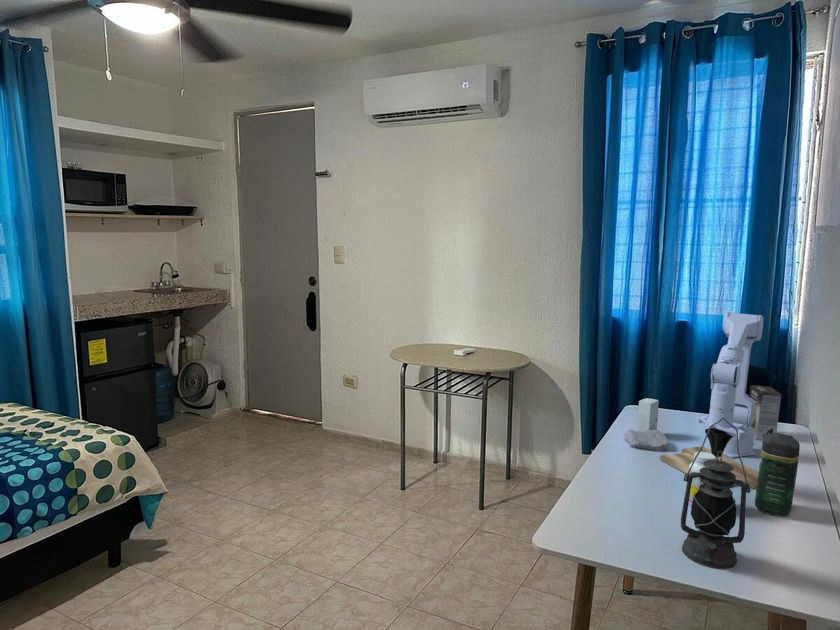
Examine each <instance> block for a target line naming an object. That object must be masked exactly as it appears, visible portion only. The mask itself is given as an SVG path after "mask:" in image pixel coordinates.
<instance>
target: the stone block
mask: <svg viewBox="0 0 840 630" xmlns="http://www.w3.org/2000/svg"><path fill="white" fill-rule="evenodd" d="M624 441H625V442H626V443H627V442H628V445H629V447H630V448H633V447H634V449H640V448H641V450H648V451H654V450H655V451H654V452H656V451H657V452H664V451H669V443H668V439H667V437H666V436H665V434H664V432H662V431H660V430H658V429H657V430H645V431H642V432H638V431H637V430H633V429H628V430H626V432H625V433H624Z"/></svg>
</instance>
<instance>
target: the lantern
mask: <svg viewBox="0 0 840 630" xmlns="http://www.w3.org/2000/svg"><path fill="white" fill-rule="evenodd" d="M722 419H724V420H725V422H726V423H728V424H729V425H730V426H731V427H733V428H734V429H735V430H736V436H737V453H738V456H739V457H738V459H739V461H740V464H742V468H743V473H744V477H745V481H746V484H745V483H744V482H743V481H741V480H737V479H736V476H735V474H733V473H732V472H730V471H733V469H734V468H733V466H732V465H730V464H728V463H726V462H724V461H721V460H722V455H723V454H722V451H718V452H721V460H720V461H719V460H718V452H717V460H707V461H704V463H703V464H704V466H706V467H703V468H701V469H700V470H699V472H700V473H697V472H692V473H690V470H691V468H692V466H693V464H694V462H695V460H696V458H697V456H698V455H699V453H700V452H701V450H702V448H703V446H704V447H705V443H706V441H707V439H708V437H707V436H708V434H709V431H710V429H711V427H712V426H714V425H715V424H717V423H719V422H721V421H722ZM708 429H709V430H708V432H707V434H706V433H705V437H704V439H703V441H702V445H701V446H702V447H701V449H700V450H699V452H698V453H697V455H696V456H695V458H694V461H693V463H692V465H691V467H690V469H689V471H688V473H684V476H683V481H684V482H686V485H685V491H684V497H683V498H684V499H683V504H682V509H681V515H680V516H681V517H680V528H681V531H683V532H685V533H687V537H686V539H684V540H683V542H682V543H683V544H682V546H681V552H682V553H683V555H684V556H685V557H687V559H689V560H690V561H693V562H694V563H696V564H699V565H701V566H704V567H708V568H710V569H711V568H712V569H719V570H726V569H731V568H734V567H735V566H736V565H738V558H737V556H738V555H737V551H735V545H734V544H739V543H740V544H741V543H742V542H743V541H744V539H745V538H744V537H745V534H746V532H745V529H746V512H747V511H746V510H747V509H746V507H747V493H748V494H751V488H752V487H750V485H749V484H748V483H747V478H746V474H745V470H744V466H745V465H744V463H743V461H742V456H741V457H740V454H739V447H738V430H737V429H736V428H735V427H734V426H732V425H731V424H730V423H729V422H727V420H726V419H725V418H721V419H720V421H718V422H716V423H714V424H712V425H711V426H710V427H708ZM743 465H744V466H743ZM689 473H690V474H689ZM696 477H700V481H701V482H702V483H703V484H701V485H700V486H699V488H700V489H699V490H698V492H697V493H695V494H696V495H695V494H694V498H693V502H692V506H691V505H690V504H689V497H690V490H691V484H692V479H693V478H696ZM734 484H738V485H737V486H739V487H740V492H741V493H740V507H739V508H740V509H739V525H738V534H737V536H729V535H730V533H731V530H733V528H734V527H735V526H736V522H737V504H736V499H735V498H733V494H734V493H733V490H732V489H733V488H734V486H735V485H734ZM689 505H690V506H691V509H690V516H691V518H692V520H693V525H694V527H695V529H696V530H695V529H693V528H691V527H689V526H687V524H686V523H687V516H688V509H689Z"/></svg>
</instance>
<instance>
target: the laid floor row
mask: <svg viewBox="0 0 840 630" xmlns="http://www.w3.org/2000/svg"><path fill="white" fill-rule="evenodd" d="M701 447H702V445H700V446H694V447H693V446H692V447H687V448H686V447H685V448H682V451H681V453H689V454H691V455H693V456H694V454H695V453H696V452H699V450H700V449H701ZM701 452H707V453H710V454H712V452H711V448H708V447H706V446H705V445H704V446H703V448H702V450H701ZM715 460H717V457H715ZM718 460H719V461H720V460H721V457H718ZM721 461H724V462H726V463H728V464H730V465H732V466H733V468H734V469H733V471H730V472H732V473H733V474H735V476H736V477H737V478H739V479H741V480H742V481H743V482H744V483H745V484H746V481H745V477H744V473H743V468H742V464H741V462H738V461H736V460H735V459H733V458H731V457H728V456H726V455H724V454H722V460H721ZM743 466H744V470H745V474H746V478H747V483H748V484H749V485H750V487H751V488H752V489H754V488H755V489H757V482H758V474H759V471H757V470H755V469H752V468H751V467H749V466H746V465H744V464H743Z"/></svg>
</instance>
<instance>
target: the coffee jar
mask: <svg viewBox="0 0 840 630" xmlns="http://www.w3.org/2000/svg"><path fill="white" fill-rule="evenodd" d="M799 458H800V442H799V441H798V440H797V439H795V437H794V436H793V435H789V434H784V433H781V432H776V433H773V434H769V435H767V436H766V437H765V438H764V439H763V440H762V445H761V452H760V458H759V459H760V460H759V465H758V467H759V468H758V472H759V474H758V482H757V488H755V490H756V491H755V497H754V498H755V499H754V506H755V508H756V509H758V510H760V511H761V512H764V513H766V514H768V515H771V516H780V517H781V516H783V517H787V516H789V515H790V513H791V511H792V507H793V501H794V493H795V488H796V487H795V486H796V482H797V481H796V480H797V474H798V468H799Z"/></svg>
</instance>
